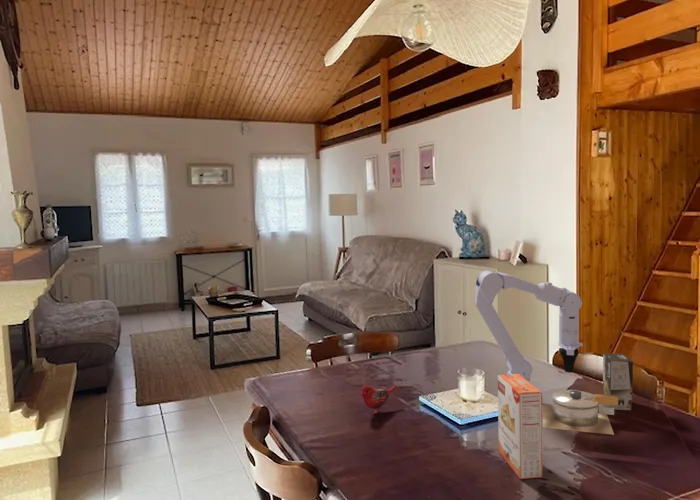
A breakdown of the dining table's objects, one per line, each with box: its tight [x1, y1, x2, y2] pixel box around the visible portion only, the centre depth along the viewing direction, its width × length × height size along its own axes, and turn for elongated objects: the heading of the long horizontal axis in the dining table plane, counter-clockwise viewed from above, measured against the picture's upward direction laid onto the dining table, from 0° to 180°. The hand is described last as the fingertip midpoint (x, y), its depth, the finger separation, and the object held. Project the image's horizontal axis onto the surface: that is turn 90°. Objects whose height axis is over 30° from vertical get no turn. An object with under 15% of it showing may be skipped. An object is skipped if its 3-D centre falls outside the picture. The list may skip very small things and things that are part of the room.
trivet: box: [542, 404, 615, 436], centre depth 157 cm, size 18×18×1 cm
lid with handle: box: [551, 389, 618, 409], centre depth 156 cm, size 17×13×2 cm
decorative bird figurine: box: [360, 384, 398, 416], centre depth 169 cm, size 3×18×10 cm, turn 137°
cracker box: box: [497, 373, 544, 480], centre depth 132 cm, size 14×6×21 cm, turn 5°
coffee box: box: [602, 353, 634, 411], centre depth 167 cm, size 9×6×16 cm
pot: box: [552, 400, 615, 427], centre depth 157 cm, size 16×12×5 cm
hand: (568, 371), depth 171 cm, fingers closed
